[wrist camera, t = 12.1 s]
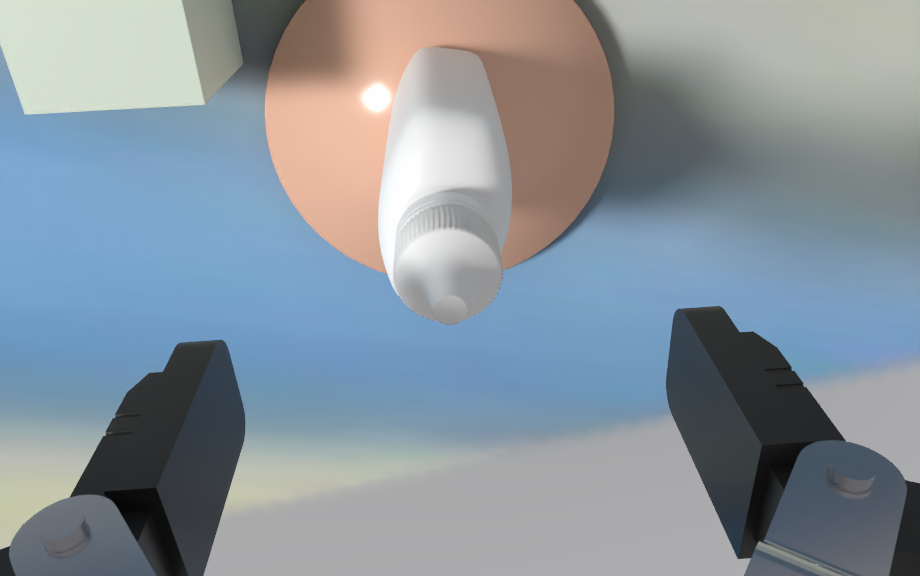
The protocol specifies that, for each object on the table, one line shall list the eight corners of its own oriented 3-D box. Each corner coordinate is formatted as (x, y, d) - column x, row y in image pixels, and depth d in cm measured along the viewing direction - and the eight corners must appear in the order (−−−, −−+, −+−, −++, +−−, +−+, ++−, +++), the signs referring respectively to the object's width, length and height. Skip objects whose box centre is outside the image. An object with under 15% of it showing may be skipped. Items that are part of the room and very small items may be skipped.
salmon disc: (237, -52, 23) (231, -50, 22) (619, -75, 23) (625, -73, 22) (299, 281, 29) (296, 291, 28) (601, 261, 29) (606, 271, 28)
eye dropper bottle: (540, 99, 25) (623, 264, 14) (444, 222, 27) (456, 444, 16) (434, 20, 23) (442, 139, 13) (342, 156, 25) (285, 354, 15)
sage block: (47, -96, 22) (-46, -88, 18) (212, -105, 22) (160, -98, 18) (95, 71, 25) (25, 114, 20) (244, 62, 25) (204, 104, 20)
